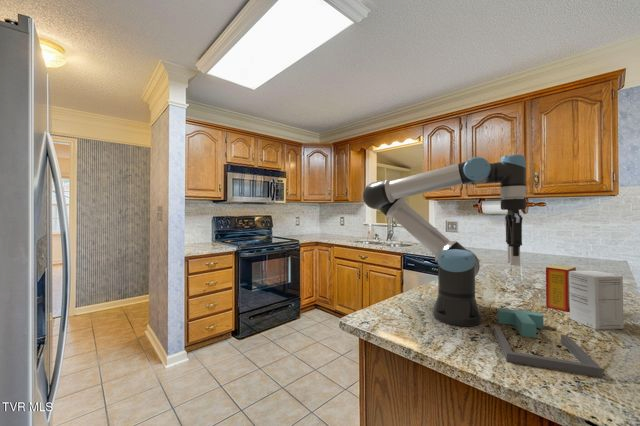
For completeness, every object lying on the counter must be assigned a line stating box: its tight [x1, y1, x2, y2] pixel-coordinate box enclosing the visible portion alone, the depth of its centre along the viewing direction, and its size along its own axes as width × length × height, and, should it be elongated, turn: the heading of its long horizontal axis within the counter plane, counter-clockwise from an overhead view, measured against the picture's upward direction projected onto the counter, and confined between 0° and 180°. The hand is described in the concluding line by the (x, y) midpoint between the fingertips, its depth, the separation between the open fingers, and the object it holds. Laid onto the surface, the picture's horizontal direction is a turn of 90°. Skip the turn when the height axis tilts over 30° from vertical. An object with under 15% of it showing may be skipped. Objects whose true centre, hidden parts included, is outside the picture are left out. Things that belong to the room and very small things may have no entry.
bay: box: [493, 325, 603, 379], centre depth 74 cm, size 18×18×2 cm
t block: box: [496, 307, 545, 339], centre depth 89 cm, size 12×12×4 cm
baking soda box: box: [545, 264, 577, 313], centre depth 109 cm, size 10×6×16 cm
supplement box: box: [569, 270, 625, 331], centre depth 92 cm, size 10×9×17 cm
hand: (513, 263), depth 100 cm, fingers open, 4 cm apart
